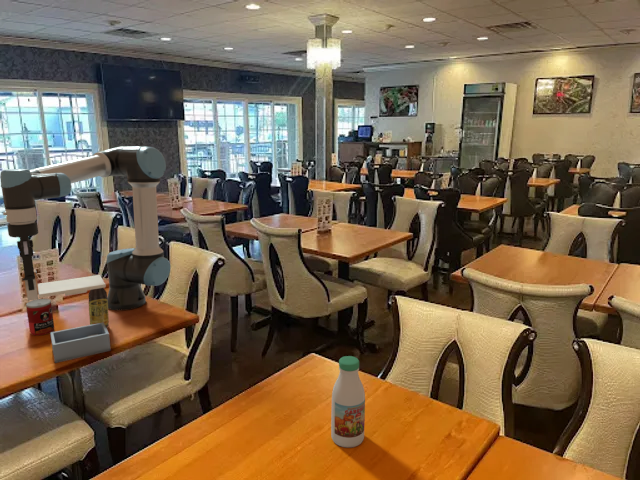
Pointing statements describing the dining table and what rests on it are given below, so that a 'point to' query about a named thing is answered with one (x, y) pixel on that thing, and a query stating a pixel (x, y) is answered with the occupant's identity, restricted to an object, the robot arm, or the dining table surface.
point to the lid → (67, 286)
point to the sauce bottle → (98, 306)
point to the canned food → (40, 316)
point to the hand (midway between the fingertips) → (32, 297)
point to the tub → (80, 342)
